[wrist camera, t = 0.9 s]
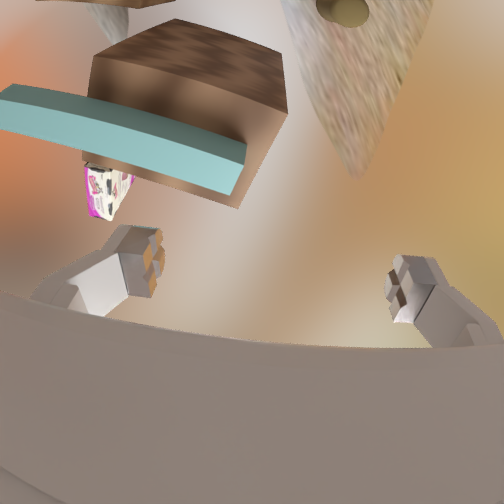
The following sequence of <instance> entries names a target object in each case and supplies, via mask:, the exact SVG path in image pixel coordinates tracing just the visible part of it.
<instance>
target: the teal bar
mask: <svg viewBox="0 0 504 504" xmlns="http://www.w3.org/2000/svg"><path fill="white" fill-rule="evenodd" d="M0 129H2V130H6V131H10V132H15V133H19V134H23V135H27V136H31V137H35V138H39V139H43V140H47V141H50V142H54V143H58V144H62V145H66V146H69V147H73V148H77V149H80V150H84V151H88V152H91V153H95V154H98V155H102V156H105V157H109V158H112V159H116V160H119V161H122V162H126V163H129V164H133V165H136V166H139V167H142V168H146V169H149V170H152V171H155V172H159V173H162V174H165V175H168V176H171V177H175V178H178V179H181V180H184V181H187V182H190V183H193V184H196V185H199V186H202V187H205V188H208V189H211V190H214V191H217V192H220V193H223V194H226V195H229V196H230V194H231V192H232V190H233V188H234V186H235V183H236V181H237V179H238V177H239V175H240V173H241V171H242V169H243V167H244V163H245V157H246V150H247V144H244V143H241V142H238V141H236V140H233V139H230V138H227V137H224V136H222V135H219V134H216V133H213V132H210V131H207V130H204V129H201V128H198V127H195V126H192V125H189V124H185V123H182V122H179V121H176V120H172V119H169V118H166V117H162V116H159V115H156V114H152V113H149V112H145V111H141V110H138V109H134V108H130V107H126V106H123V105H119V104H115V103H111V102H106V101H102V100H98V99H94V98H89V97H84V96H80V95H75V94H70V93H65V92H60V91H55V90H50V89H44V88H38V87H32V86H26V85H18V84H12V85H10V86H9V87H7V88H6V89H4V90H3V91H2V92H0Z"/></svg>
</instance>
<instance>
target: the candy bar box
mask: <svg viewBox="0 0 504 504" xmlns="http://www.w3.org/2000/svg"><path fill="white" fill-rule="evenodd" d="M84 174H85V184H86V195H87V204H88V212H89V216H93V217H97V218H101V219H105V220H109V221H112V219H113V217H114V215H115V213H116V211H117V209H118V208H119V206H120V204H121V202H122V200H123V198H124V197H125V195H126V193H127V191H128V189H129V188H130V186H131V184H132V182H133V180H134V179H135V177H136V176H134V175H130V174H127V173H124V172H120V171H117V170H114V169H110V168H107V167H104V166H100V165H97V164H93V163H90V162H87V163H86V165H85V166H84Z"/></svg>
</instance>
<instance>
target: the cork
mask: <svg viewBox="0 0 504 504" xmlns="http://www.w3.org/2000/svg"><path fill="white" fill-rule="evenodd" d="M316 7H317V10H318V12H319V14H320V15H321V16H322V17H323V18H324V19H326V20H328V21H330V22H335V23H338V24H340V25H342V26H344V27H349V28H354V27H358V26H361V25H363V24H364V23H365V22H366V21H367V19H368V17H369V8H368V5H367V3H366V2H365V0H317V1H316Z"/></svg>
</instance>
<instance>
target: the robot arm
mask: <svg viewBox="0 0 504 504" xmlns="http://www.w3.org/2000/svg"><path fill="white" fill-rule="evenodd" d="M162 241H163V235H162V230H161V229H160V228H152V227H144V226H133V225H124V224H122V225H119V226H118V227H117V229H116V230H115V231H114V233H113V234H112V235H111V237H110V238H109V239H108V241H107V242H106V243H105V245H104V246H103V247H102V249H101V250H96V251H94V252H92V253H90V254H88V255H86V256H84V257H82V258H80V259H78V260H76V261H74V262H72V263H70V264H69V265H67V266H65V267H63V268H61V269H59V270H57V271H55V272H54V273H52V274H50V275H49V276H47V277H45V278H43V280H42V281H41V283H40V284H39V285H38V287H37V288H36V289H35V291H34V292H33V294H32V295H31V297H30V298H29V299H28V298H25V297H21V296H18V295H14V294H11V293H8V292H4V291H1V290H0V504H504V340H503V337H502V335H501V333H500V331H499V329H498V327H497V325H496V323H495V322H494V321H493V320H492V319H491V318H490V317H489V316H487V315H486V314H485V313H484V312H483V311H482V310H481V309H479V308H478V307H477V306H476V305H475V304H473V303H472V302H471V301H470V300H469V299H467V298H466V297H465V296H464V295H463V294H461V293H460V292H459V291H458V290H457V289H455V288H454V287H451V286H449V284H448V282H447V280H446V278H445V276H444V274H443V272H442V270H441V269H440V267H439V265H438V263H437V261H436V260H435V259H434V258H432V257H422V256H421V257H418V256H410V255H399V254H397V256H396V257H395V258H394V260H393V263H392V264H393V267H394V269H393V270H392V271H390V272H389V273H388V275H387V278H386V280H385V287H384V289H385V295H386V299H387V300H388V301H389V302H391V305H390V307H389V309H390V312H391V315H392V319H393V322H405V323H414V325H415V327H416V328H417V329H418V330H419V331H420V333H421V334H422V335H423V336H424V337H425V339H426V340H427V341H428V342H429V344H430V345H431V346H432V347H433V348H363V347H338V346H319V345H304V344H290V343H278V342H266V341H257V340H246V339H238V338H230V337H221V336H214V335H206V334H199V333H192V332H184V331H179V330H172V329H166V328H160V327H154V326H148V325H143V324H137V323H132V322H127V321H122V320H117V319H112V318H107V317H103V316H105V315H106V314H107V313H108V312H109V311H111V310H112V309H113V308H115V307H116V306H117V305H118V304H120V303H121V302H122V301H123V300H125V299H126V298H127V297H128V295H131V296H139V297H147V298H151V297H152V295H153V293H154V290H155V288H156V286H157V281H156V279H157V278H158V277H160V276H161V275H162V272H163V270H164V264H165V250H164V249H163V248H162V246H161V245H160V244H161V243H162Z"/></svg>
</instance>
